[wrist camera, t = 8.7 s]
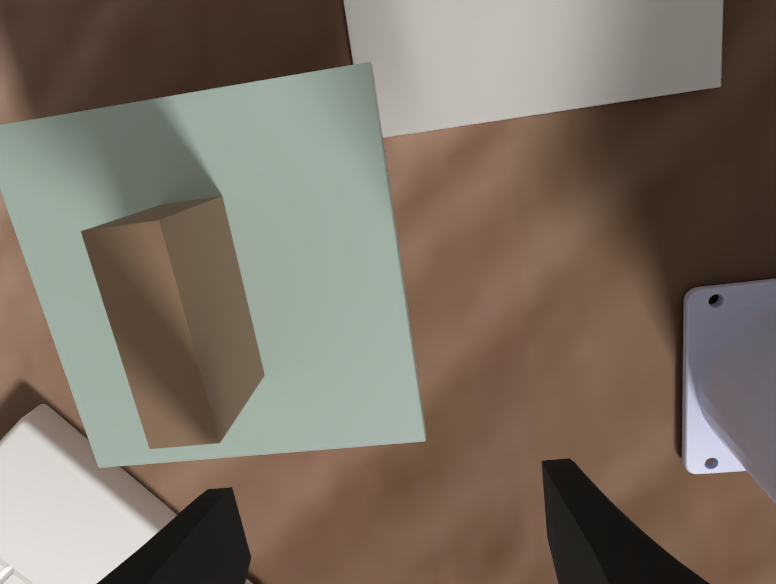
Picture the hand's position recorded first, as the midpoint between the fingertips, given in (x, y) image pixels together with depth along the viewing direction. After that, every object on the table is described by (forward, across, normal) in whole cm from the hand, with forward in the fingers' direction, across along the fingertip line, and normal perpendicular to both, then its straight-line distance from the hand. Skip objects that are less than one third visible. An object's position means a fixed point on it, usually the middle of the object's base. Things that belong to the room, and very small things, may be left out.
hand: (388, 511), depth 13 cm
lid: (+6, +5, -4) cm, 9 cm away
